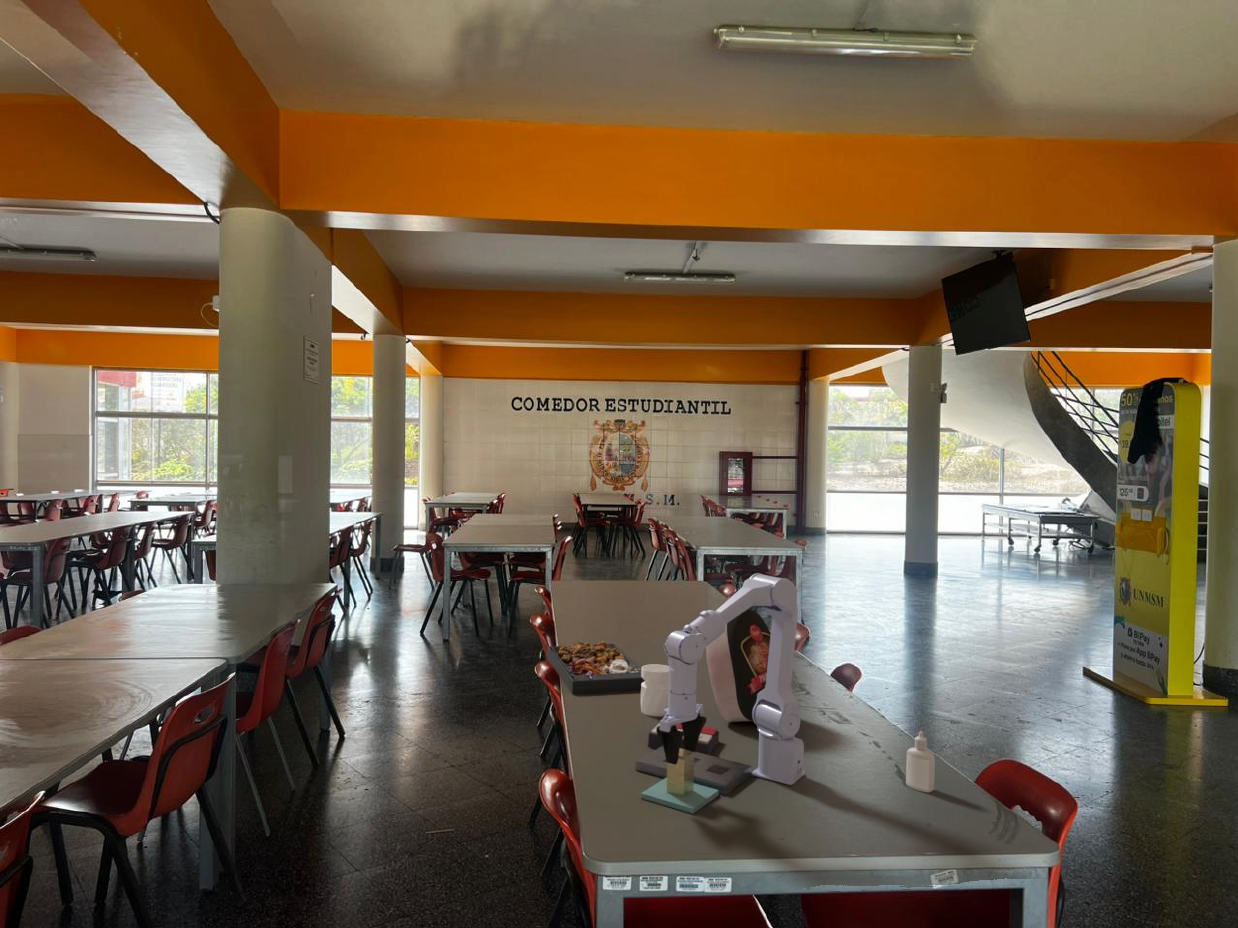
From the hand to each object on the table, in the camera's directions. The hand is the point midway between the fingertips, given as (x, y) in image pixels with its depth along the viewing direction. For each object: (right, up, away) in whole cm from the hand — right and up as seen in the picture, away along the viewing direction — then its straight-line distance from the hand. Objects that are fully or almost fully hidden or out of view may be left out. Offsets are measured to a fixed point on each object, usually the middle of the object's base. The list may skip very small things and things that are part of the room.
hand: (681, 757), depth 161 cm
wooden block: (0, -7, 0) cm, 7 cm away
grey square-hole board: (+4, -8, +13) cm, 16 cm away
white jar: (-3, -8, +56) cm, 56 cm away
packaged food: (+21, -9, +52) cm, 57 cm away
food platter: (-20, -9, +95) cm, 98 cm away
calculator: (+3, -9, +31) cm, 32 cm away
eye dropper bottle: (+52, -10, +7) cm, 53 cm away
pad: (0, -8, 0) cm, 8 cm away
